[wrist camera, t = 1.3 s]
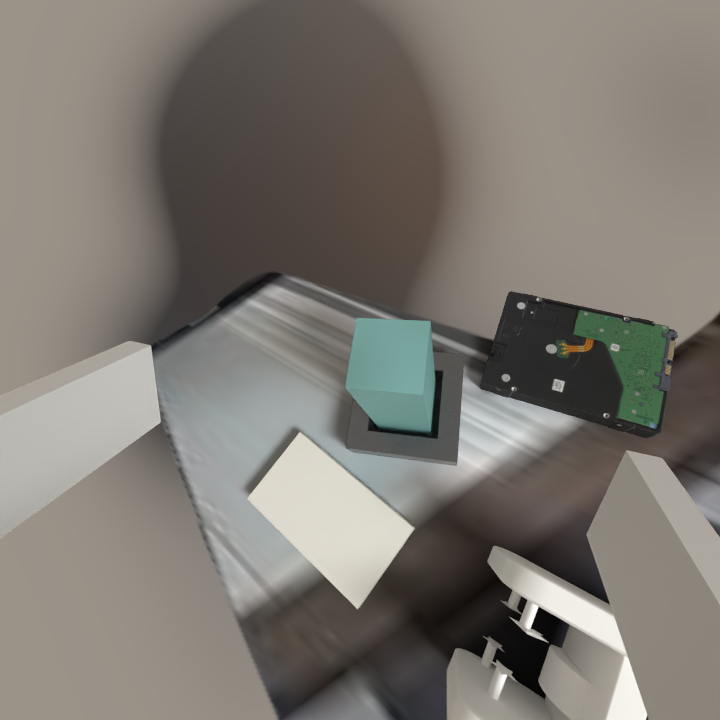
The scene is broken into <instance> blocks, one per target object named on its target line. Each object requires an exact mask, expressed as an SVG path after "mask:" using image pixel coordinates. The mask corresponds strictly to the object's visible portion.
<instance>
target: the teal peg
mask: <svg viewBox="0 0 720 720" xmlns="http://www.w3.org/2000/svg"><path fill="white" fill-rule="evenodd" d="M345 388H346V390H347V391H348V392H349V393H350V394H351V396H352V397H353V398H354V399H355V400H356V401H357V403H358V404H359V405H360V406H361V407H362V408H363V410H364V411H365V412H366V413H367V414H368V416H369V417H370V418H371V419H372V420H373V421H374V423H375V424H376V425H377V426H378V427H379V429H380V430H385V431H394V432H403V433H411V434H420V435H429V436H432V425H433V413H434V402H435V391H436V382H435V370H434V358H433V347H432V335H431V323H430V321H415V320H393V319H371V318H356V324H355V330H354V336H353V342H352V348H351V354H350V360H349V366H348V372H347V378H346V384H345Z"/></svg>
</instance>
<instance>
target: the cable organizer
mask: <svg viewBox="0 0 720 720" xmlns="http://www.w3.org/2000/svg"><path fill="white" fill-rule="evenodd" d="M487 562H488V564H489V565H490V566H491V568H492V569H493V570H494V572H495V573H496V575H497V576H498V577H499V579H500V580H501V581H502V582H503V583H504V584H506V585H507V586H508V587H509V588H511V589H512V593H511V595H510V598H509V601H508V602H506V601H505V602H504V601H502V602H503V603H504V604H505V605H506V606H508V607H509V608H510V609H512V610H514V611H516V612H518V613H520V612H519V611H518V610H519V609H517V606H518V604H519V601H520V598H521V596H522V597H524V598H525V599H527V603H526V605H525V608H524V611H523V614H522V616H521V619H520V622H519V621H517V620H515V619H513V618H511V617H510V618H511V619H512V620H513V621H514V622H515V623H516V624H517V625H518V626H519V627H520V628H521V629H522V630H523V631H524V632H525V633H527V634H528V635H530V636H533V637H535V638H538V639H540V640H543V641H545V642H547V641H546V640H545V639H544V638H543V637H541V636H540V635H542V634H540V633H539V632H537V631H535V630H533V629H532V628H531V626H532V623H533V620H534V618H535V615H536V612H537V610H538V607H540V608H542V609H544V610H546V611H547V612H549V613H551V614H552V615H554V616H556V617H558V618H559V619H561V620H563V621H565V622H566V623H568V624H570V625H569V628H568V631H567V634H566V637H565V640H564V643H563V646H562V649H561V648H559V647H557V646H555V645H550V647H549V650H548V653H547V656H546V659H545V662H544V665H543V668H542V671H541V673H540V676H539V679H538V681H539V684H540V686H541V688H542V690H543V691H544V693H545V694H546V697H545V699H544V698H542V697H541V696H539V695H538V694H536V693H534V692H533V691H531V690H530V689H528V688H527V687H525V686H524V685H522V684H521V683H519V682H518V681H516V680H515V679H514V678H513V676H512V675H511V674H512V673H513V672H512V671H510V670H509V669H507V668H506V667H504V666H503V665H502V664H501V663H500V662H499V661H498V660H497V659H496V661H497V663H495V662H492V661H493V658H494V655H495V652H496V650H497V648H499V649H500V650H502V648H501V647H502V645H500V644H499V643H497V642H496V641H494V640H493V639H492V638H491V637H490V636H489V638H486V637H484V636H483V637H484V638H486V639H487V640H488V644H487V646H486V649H485V651H484V654H483V657H482V658H480V657H479V656H477V655H475V654H473V653H471V652H469V651H467V650H464V649H460V648H456V649H455V651H454V653H453V656H452V658H451V661H450V664H449V666H448V669H447V720H646V717H647V712H646V709H645V706H644V703H643V700H642V697H641V694H640V691H639V689H638V686H637V683H636V680H635V677H634V674H633V671H632V668H631V665H630V662H629V659H628V656H627V653H626V650H625V647H624V644H623V641H622V638H621V635H620V632H619V629H618V626H617V623H616V620H615V617H614V614H613V611H612V608H611V606H610V605H609V604H607V603H606V602H604V601H602V600H600V599H598V598H596V597H594V596H593V595H591V594H589V593H587V592H585V591H583V590H582V589H580V588H578V587H576V586H574V585H572V584H570V583H569V582H567V581H565V580H563V579H561V578H559V577H558V576H556V575H554V574H552V573H550V572H548V571H546V570H545V569H543V568H541V567H539V566H537V565H535V564H534V563H532V562H530V561H528V560H526V559H524V558H522V557H521V556H519V555H517V554H515V553H513V552H510V551H508V550H506V549H504V548H501V547H498V546H493V548H492V551H491V553H490V556H489V558H488V561H487ZM500 601H501V600H500ZM520 614H521V613H520ZM548 643H549V642H548ZM502 651H503V650H502ZM503 652H504V651H503ZM491 663H493V664H494V665H495V666H496V667H494V666H493V665H491Z"/></svg>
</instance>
